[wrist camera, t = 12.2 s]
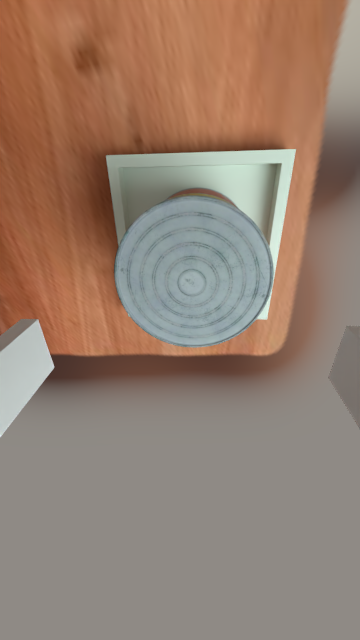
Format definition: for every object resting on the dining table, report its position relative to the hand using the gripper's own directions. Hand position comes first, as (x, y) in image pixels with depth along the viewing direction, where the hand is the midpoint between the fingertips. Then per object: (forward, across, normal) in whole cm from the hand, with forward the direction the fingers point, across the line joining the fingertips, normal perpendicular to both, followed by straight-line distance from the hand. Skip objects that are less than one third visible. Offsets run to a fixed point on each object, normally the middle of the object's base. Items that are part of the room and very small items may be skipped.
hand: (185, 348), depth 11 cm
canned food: (+20, 0, 0) cm, 20 cm away
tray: (+20, 0, 0) cm, 21 cm away
